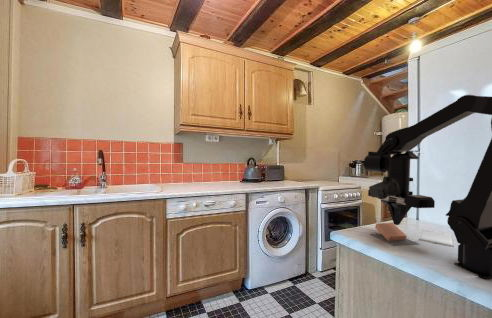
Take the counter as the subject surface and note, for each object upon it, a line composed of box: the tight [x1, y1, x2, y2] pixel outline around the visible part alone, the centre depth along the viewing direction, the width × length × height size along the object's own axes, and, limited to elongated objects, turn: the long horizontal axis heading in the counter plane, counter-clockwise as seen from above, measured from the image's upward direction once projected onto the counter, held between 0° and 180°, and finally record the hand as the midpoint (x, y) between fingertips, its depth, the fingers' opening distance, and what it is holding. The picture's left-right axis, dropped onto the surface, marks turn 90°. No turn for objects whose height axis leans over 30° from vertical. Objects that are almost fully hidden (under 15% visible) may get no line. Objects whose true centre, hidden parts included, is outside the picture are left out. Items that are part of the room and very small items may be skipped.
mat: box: [369, 233, 421, 247], centre depth 72 cm, size 10×9×1 cm
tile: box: [374, 222, 408, 241], centre depth 73 cm, size 2×6×6 cm
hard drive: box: [418, 228, 455, 248], centre depth 73 cm, size 2×8×12 cm
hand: (396, 224), depth 70 cm, fingers closed
